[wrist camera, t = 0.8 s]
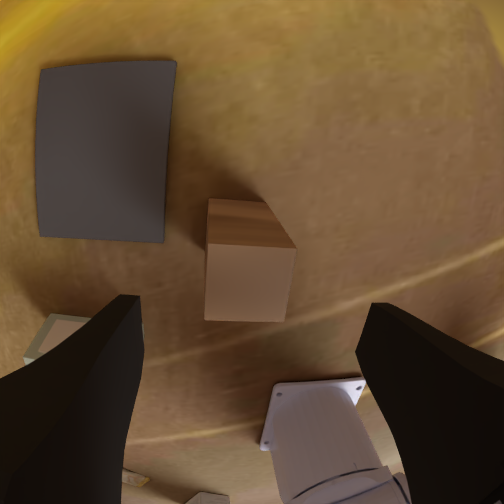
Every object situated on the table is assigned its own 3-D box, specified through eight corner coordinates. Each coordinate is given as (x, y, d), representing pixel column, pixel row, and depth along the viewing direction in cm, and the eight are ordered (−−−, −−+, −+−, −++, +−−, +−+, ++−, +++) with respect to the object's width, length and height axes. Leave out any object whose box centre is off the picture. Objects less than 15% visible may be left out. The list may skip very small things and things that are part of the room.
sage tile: (144, 336, 21) (132, 388, 16) (54, 326, 20) (28, 371, 15) (143, 320, 20) (129, 371, 16) (50, 310, 19) (22, 355, 15)
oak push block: (259, 254, 19) (283, 321, 13) (205, 251, 19) (204, 320, 12) (265, 202, 18) (297, 248, 12) (208, 197, 18) (208, 243, 11)
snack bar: (151, 479, 28) (139, 492, 28) (150, 471, 30) (138, 484, 29) (73, 446, 25) (64, 461, 24) (74, 438, 26) (65, 452, 26)
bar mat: (164, 240, 18) (163, 243, 18) (43, 233, 17) (39, 236, 17) (177, 62, 15) (175, 60, 14) (44, 70, 13) (40, 69, 13)
